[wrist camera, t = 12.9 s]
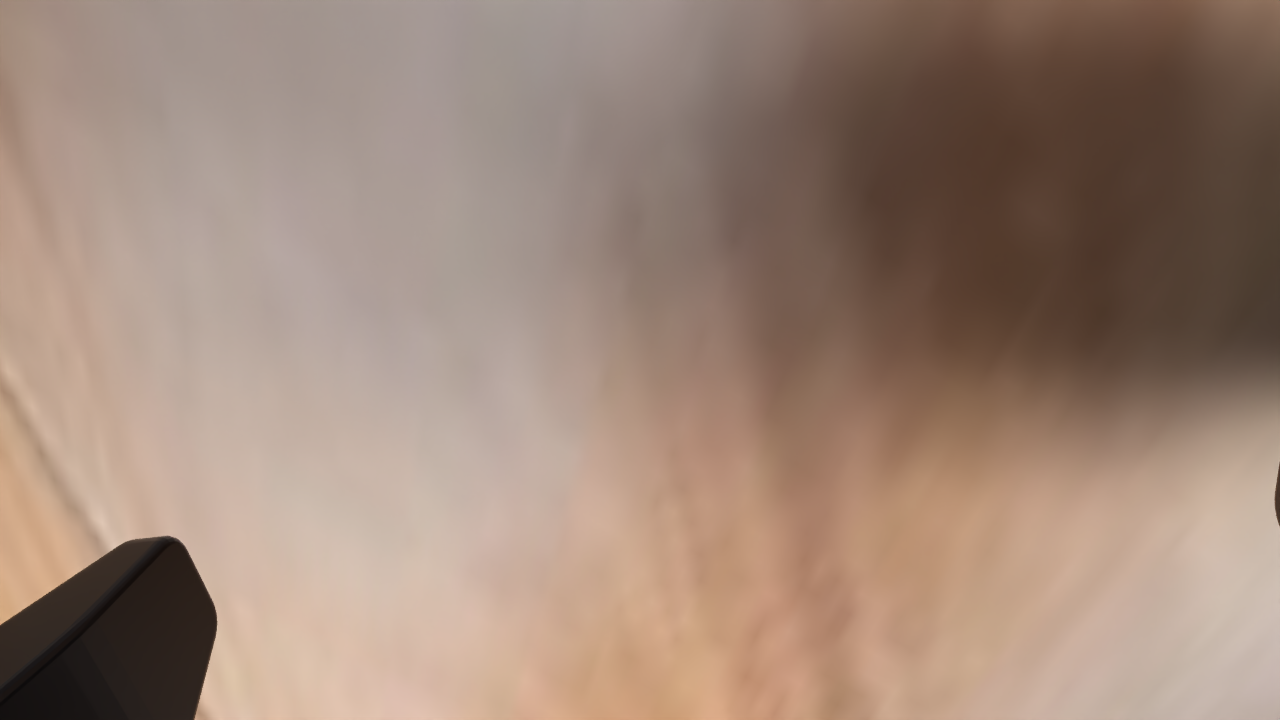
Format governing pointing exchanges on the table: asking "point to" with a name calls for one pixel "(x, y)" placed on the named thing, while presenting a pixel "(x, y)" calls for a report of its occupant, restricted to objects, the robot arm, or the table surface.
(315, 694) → the table surface
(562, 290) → the table surface
